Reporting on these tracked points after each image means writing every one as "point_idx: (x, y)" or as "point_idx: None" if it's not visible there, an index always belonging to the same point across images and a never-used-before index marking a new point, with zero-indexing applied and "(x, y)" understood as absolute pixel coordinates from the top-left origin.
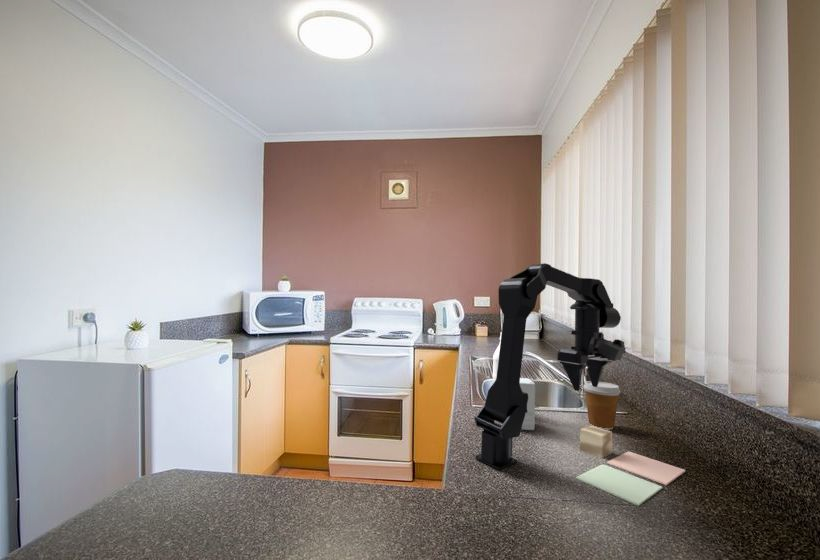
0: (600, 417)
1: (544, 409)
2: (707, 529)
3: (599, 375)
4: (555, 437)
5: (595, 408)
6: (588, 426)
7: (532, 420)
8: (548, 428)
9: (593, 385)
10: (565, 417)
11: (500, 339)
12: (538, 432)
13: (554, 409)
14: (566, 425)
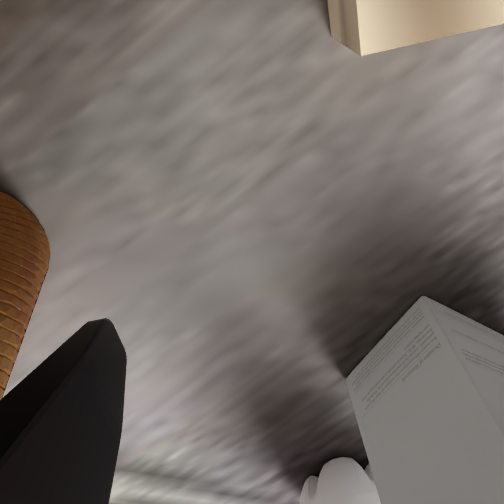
0: (3, 243)
1: None
2: None
3: (12, 437)
4: (404, 198)
5: (7, 297)
6: (405, 41)
7: (451, 329)
8: (320, 299)
9: (119, 354)
10: None
11: None
12: (422, 273)
13: None
14: (183, 306)
